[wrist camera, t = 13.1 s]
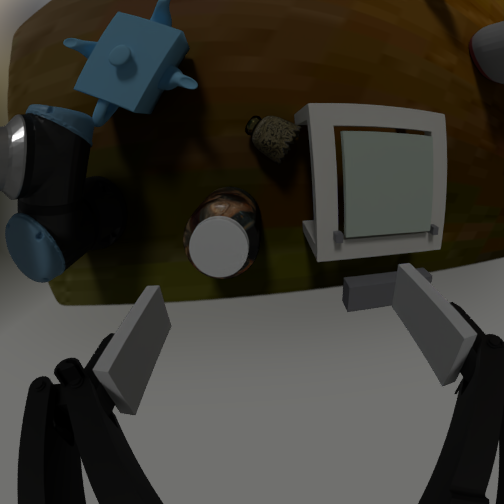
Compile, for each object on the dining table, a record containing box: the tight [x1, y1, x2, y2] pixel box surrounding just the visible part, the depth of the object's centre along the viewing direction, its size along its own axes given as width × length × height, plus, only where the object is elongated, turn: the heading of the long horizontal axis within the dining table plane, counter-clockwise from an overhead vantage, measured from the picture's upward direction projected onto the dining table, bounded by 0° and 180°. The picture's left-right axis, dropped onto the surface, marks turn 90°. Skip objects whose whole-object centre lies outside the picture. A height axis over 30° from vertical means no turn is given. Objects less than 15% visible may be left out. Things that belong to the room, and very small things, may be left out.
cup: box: [245, 116, 302, 165], centre depth 42 cm, size 8×7×8 cm
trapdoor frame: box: [294, 103, 447, 262], centre depth 39 cm, size 22×22×16 cm
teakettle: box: [63, 0, 198, 127], centre depth 32 cm, size 19×19×15 cm
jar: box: [183, 187, 261, 279], centre depth 44 cm, size 12×12×15 cm
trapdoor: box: [340, 131, 433, 312], centre depth 33 cm, size 24×14×4 cm, turn 6°
